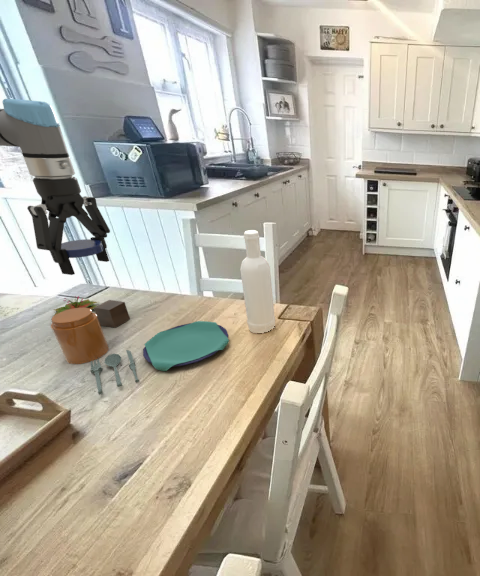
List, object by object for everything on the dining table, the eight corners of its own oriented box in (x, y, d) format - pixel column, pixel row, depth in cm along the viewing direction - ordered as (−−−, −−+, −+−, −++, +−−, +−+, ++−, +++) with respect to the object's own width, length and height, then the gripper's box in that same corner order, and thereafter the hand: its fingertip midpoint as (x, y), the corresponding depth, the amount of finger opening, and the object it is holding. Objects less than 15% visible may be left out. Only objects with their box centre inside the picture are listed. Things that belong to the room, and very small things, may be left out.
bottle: (268, 317, 104) (258, 226, 91) (280, 327, 99) (272, 233, 86) (243, 325, 99) (229, 230, 86) (255, 337, 94) (242, 237, 81)
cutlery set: (240, 351, 88) (239, 344, 86) (97, 404, 69) (93, 396, 68) (215, 320, 100) (214, 314, 99) (89, 357, 82) (86, 350, 80)
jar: (56, 361, 80) (37, 321, 74) (89, 342, 87) (74, 304, 82) (86, 366, 79) (69, 326, 74) (117, 346, 86) (103, 308, 81)
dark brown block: (100, 325, 94) (93, 307, 91) (115, 317, 98) (109, 299, 96) (115, 327, 94) (109, 309, 91) (130, 319, 98) (124, 301, 95)
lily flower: (109, 309, 102) (105, 296, 100) (59, 325, 93) (53, 311, 91) (93, 297, 108) (88, 285, 106) (44, 312, 98) (38, 298, 96)
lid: (112, 248, 86) (110, 241, 85) (79, 259, 78) (76, 252, 77) (83, 244, 87) (81, 237, 86) (48, 255, 79) (45, 247, 78)
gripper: (13, 184, 65) (55, 285, 74) (111, 173, 84) (134, 255, 94) (-18, 180, 65) (28, 281, 75) (85, 170, 85) (111, 252, 94)
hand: (87, 266), depth 84 cm, fingers closed on lid, 9 cm apart
